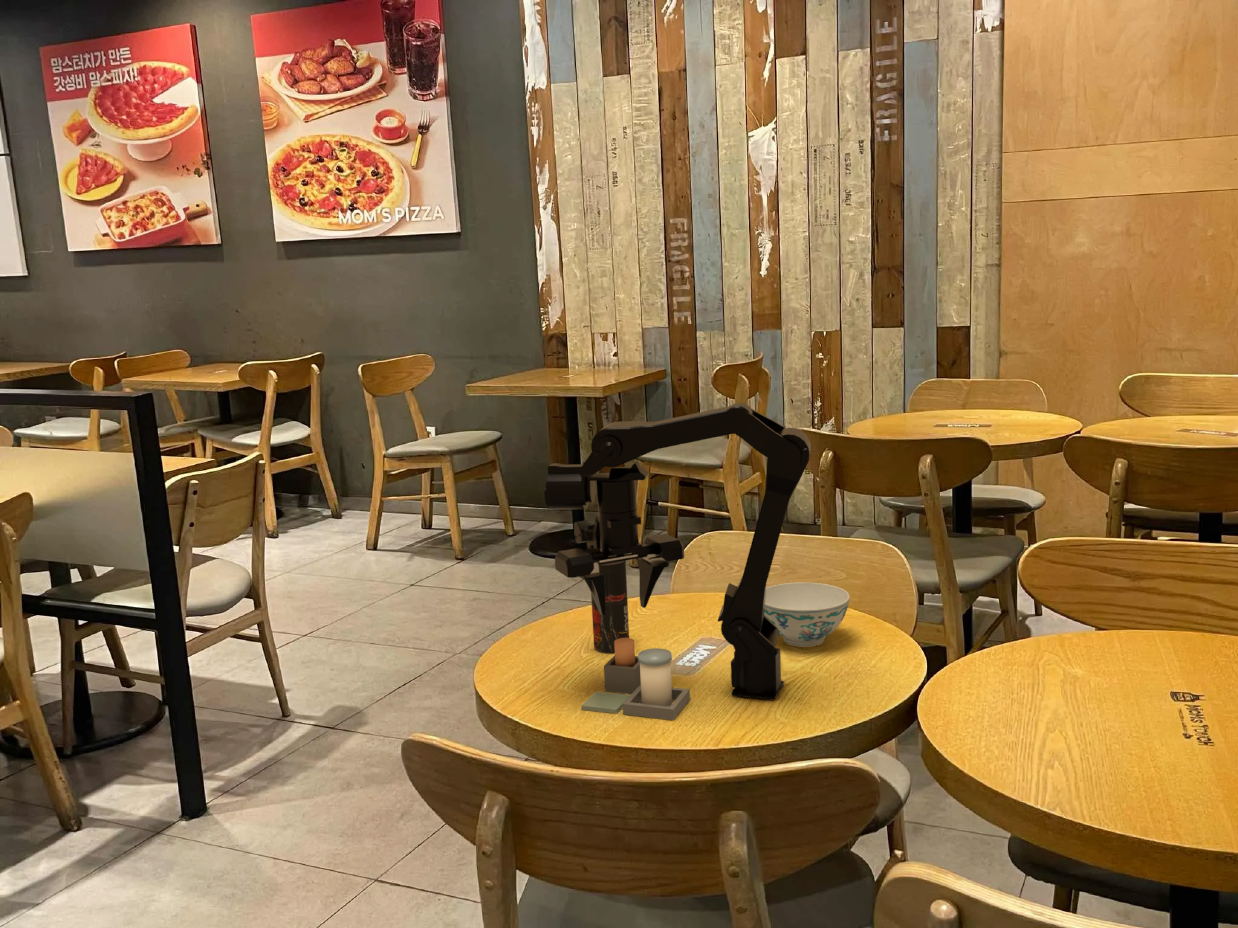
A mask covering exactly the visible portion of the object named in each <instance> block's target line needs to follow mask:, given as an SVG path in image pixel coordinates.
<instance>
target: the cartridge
mask: <svg viewBox="0 0 1238 928" xmlns="http://www.w3.org/2000/svg"><path fill="white" fill-rule="evenodd" d="M637 656H638V661H639V662H640V679H641V701H640V702H641V704H650V705H659V706H668V707H670V706H671V705H672V703H673V700H672V686H673V685H672V667H671V665H672V664H671V662H672V660H673V658H672V657H673V653H672V651H670V650H669V649H667V648H658V647H657V648H656V647H655V648H654V647H653V648H647V649H643V650H641V651H639V652H638V654H637Z"/></svg>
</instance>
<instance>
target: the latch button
mask: <svg viewBox="0 0 1238 928" xmlns="http://www.w3.org/2000/svg"><path fill="white" fill-rule="evenodd" d="M614 646H615V653H614V656H615V665H616V666H626V667H633V666H634V665H635V656H636V651H635V649H636V648H635V647H636V646H635V640H634V639H633V638H631V637H629V638H620V639H617V640H615V641H614Z"/></svg>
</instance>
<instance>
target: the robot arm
mask: <svg viewBox="0 0 1238 928" xmlns="http://www.w3.org/2000/svg"><path fill="white" fill-rule="evenodd" d="M728 435H736V436H737V437H739V438H740V439H742V440H743V441H744V442H745V443H746V444H748V445H749V446H751V447H752V448H753V449H754V450H755V451H757V452H758V453H759V454H761V455H763V456H764V457H766V458H767V461H766V470H765V471H766V472H765V473H766V474H765V487H764V488H765V489H764V491H765V492H764V496H763V499H762V503H761V507H760V510H759V514H758V519H757V522H756V526H755V528H754V533H753V536H752V537H753V538H752V540H751V544H750V547H749V552H748V555H747V558H746V561H745V567H744V570H743V572H742V576H741V578H740V581H739V582H738V584H737V586H736V585H735V584H732V583H731V582H730V583H728V585H727V587H726V591H725V593H724V598H723V604H722V606H721V609H720V612H719V615H718V618H717V622H721V624H720V633H721V635H722V636H723V639H724V640H725V641H726V642H727V643H728V644H730V645H731V646H733V649H734V652H733V658H732V659H731V660H730V681H731V682H730V683H731V686H730V687H732V688H733V689H732V691H731V696H733V697H742V698H749V699H750V698H751V699H758V700H759V699H762V700H770V701H774V700H776V699H777V697H778V695H779V693H781V690H782V689H783V688H784V686H785V681H784V680H782V669H781V667H782V665H781V648H780V647H779V648H777V640H778V635H779V634H778V628H777V627H776V626H775V625H774V624H773V623H772V622H771V621H770V620H768V619H767V618H766V617H765V616H764V609H765V597H766V588H767V581H768V578H769V575H770V572H771V568H772V565H773V560H774V557H775V553H776V550H777V547H778V546H777V545H778V542H779V539H780V536H781V531H782V527H783V524H784V520H785V517H786V515H787V514H786V513H787V510H788V508H789V507H788V506H789V502H790V500H791V497H792V495H793V494H794V492H795V490H796V488H797V486H798V484H799V482H800V480H801V478H802V476H803V474H804V472H805V469H806V468H807V465H808V464H809V461H810V457H811V449H812V448H811V447H812V444H811V440H810V438H808V435H807V434H806V433H805V432H804V431H802V430H801V429H798V428H795V427H785V426H783V425H781V424H780V423H779V422H777V421H776V420H774V419H771V418H770V417H768V416H766V415H764V414H762V413H760V412H758V411H756V410H755V409H753V408H752V407H751V406H749V404H747V403H744V402H736V403H733V404H731V405H729V406H724V407H719V408H715V409H710V410H704V411H700V412H696V413H691V414H686V415H682V416H677V417H671V418H667V419H662V420H657V421H640V420H639V421H637V420H634V421H633V420H632V421H626V420H625V421H613V422H610V423H608V424H606V425H605V426H603V428H601V429H600V430H599V431H597V432H596V433H595V434H594V436H593V438H592V440H591V444H590V449H591V452H590V454H589V455H588V457H587V458H586V459H585V460H584V461H583V463H582V464H581V463H580V464H578V463H577V464H562V463H556V462H555V463H551V464H550V465H548V466H547V476H546V480H545V489H544V491H543V493H544V502H545V505H546V506H545V507H546V508H547V510H549V511H550V510H551V511H552V510H553V511H554V510H560V511H561V510H562V511H563V510H564V511H565V510H587V509H588V507H589V505H590V503H591V504H592V503H594V502H595V500H596V496H597V512H598V513H595V517H594V524H590V522H589V520H581V521H575V522H574V523H573V529H574V530H573V533H574V539H575V542H576V544H581V543H586V544H587V549H596V550H600V551H595V552H590V553H589V552H588V551H586V550H584V549H583V548H581V547H578V548H576V547H575V548H571V549H566V550H558V552H557V553H556V555H555V556H554V557H555V558H554V564H555V565H554V567H555V570H556V571H558V572H559V573H561V574H562V575H564V576H565V577H566V578H572V579H574V578H580V579H582V580H584V581H585V583H586V586H587V587H588V589H589V591H590V594H591V593H592V596H593V598H594V601H595V603H596V605H597V608H598V610H599V613H600V614H601V615H602V616H603V615H605V609H606V601H605V579H604V574H602V573H600V572H599V565H602V564H607V563H613V562H619V561H625V560H626V561H630V560H635V559H636V563H637V567H638V571H639V572H638V573H639V603H640V607H641V608H647V606H648V604H649V601H650V599H651V596H652V593H653V591H654V589H655V586H656V585H657V582H658V581H659V578H660V577H661V574H662V572H663V571H664V569H665V568H668V567H669V566H670V562H673V561H679V560H683V559H684V558H685V546H684V544H683V542H682V541H681V540H680V539H679V538H677V537H674V536H671V535H670V534H668V533H664V534H658V535H653V536H646V537H645V540H644V544H643V543H641V542H639V541H640V540H639V539H640V538H639V525H641V524H642V517H641V516H639V515H638V502H637V482H636V481H644V480H646V479H647V477H648V476H649V475H650V472H649V470H647V469H646V468H644V466H642V465H641V464H640V462H639V461H635V462H633V464H632V466H621V465H624V464H627V463H629V462H632V461H634V460H637V459H639V458H640V457H642V456H645V455H647V454H649V453H651V452H654V451H657V450H661V449H665V448H670V447H675V446H679V445H680V446H681V445H684V444H690V443H693V442H699V441H704V440H710V439H714V438H718V437H723V436H728ZM605 467H606V468H610V471H609V472H601V473H600V471H601V470H602V469H604V468H605ZM608 556H613V557H608Z"/></svg>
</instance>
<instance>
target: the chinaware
mask: <svg viewBox="0 0 1238 928" xmlns="http://www.w3.org/2000/svg"><path fill="white" fill-rule="evenodd" d="M850 598H851V597H850V593H848V591H846V590H845V589H843V588H841V587H839V586H835V585H832V584H827V583H820V582H808V581H807V582H805V581H804V582H803V581H801V582H800V581H799V582H785V583H779V584H774V585H771V586H766V597H765V609H764V616H765V617H766V618H767V619H768V620H770V621H771V622H772V623H773V624H774V625H775V626H776V627H777V628H778V635H780V637H782V638H783V641H784V643H785V644H787V645H790V646H793V647H800V648H809V647H816V645H817V646H819V645H821V644H823V643H824V642H825V638H826V637H827V636H829V635H831V634H832V633H833V632H834V631H835V630H836V629H837V628H839V626H840V625H841V623H842V621H843V620H844V618H845V616H846V614H847V611H848V608H849V603H850Z"/></svg>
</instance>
